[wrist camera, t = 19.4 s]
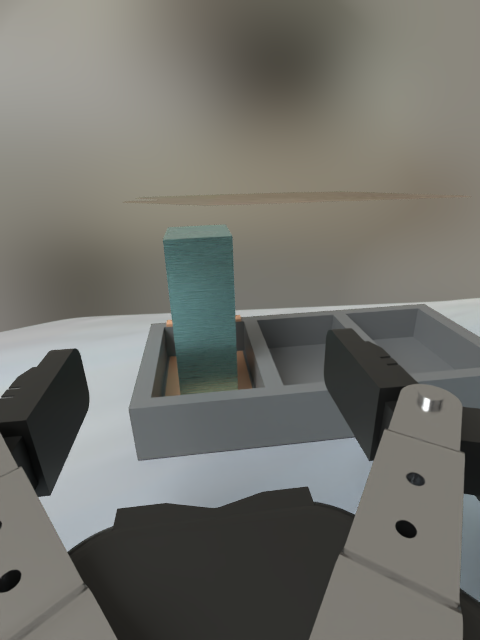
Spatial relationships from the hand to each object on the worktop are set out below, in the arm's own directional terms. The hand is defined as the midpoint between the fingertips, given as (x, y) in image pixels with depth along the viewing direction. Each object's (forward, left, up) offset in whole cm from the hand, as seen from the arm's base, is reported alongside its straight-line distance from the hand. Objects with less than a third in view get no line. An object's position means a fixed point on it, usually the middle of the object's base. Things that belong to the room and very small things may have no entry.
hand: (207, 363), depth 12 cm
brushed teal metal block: (0, -10, -7) cm, 13 cm away
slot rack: (-7, -10, -8) cm, 15 cm away
